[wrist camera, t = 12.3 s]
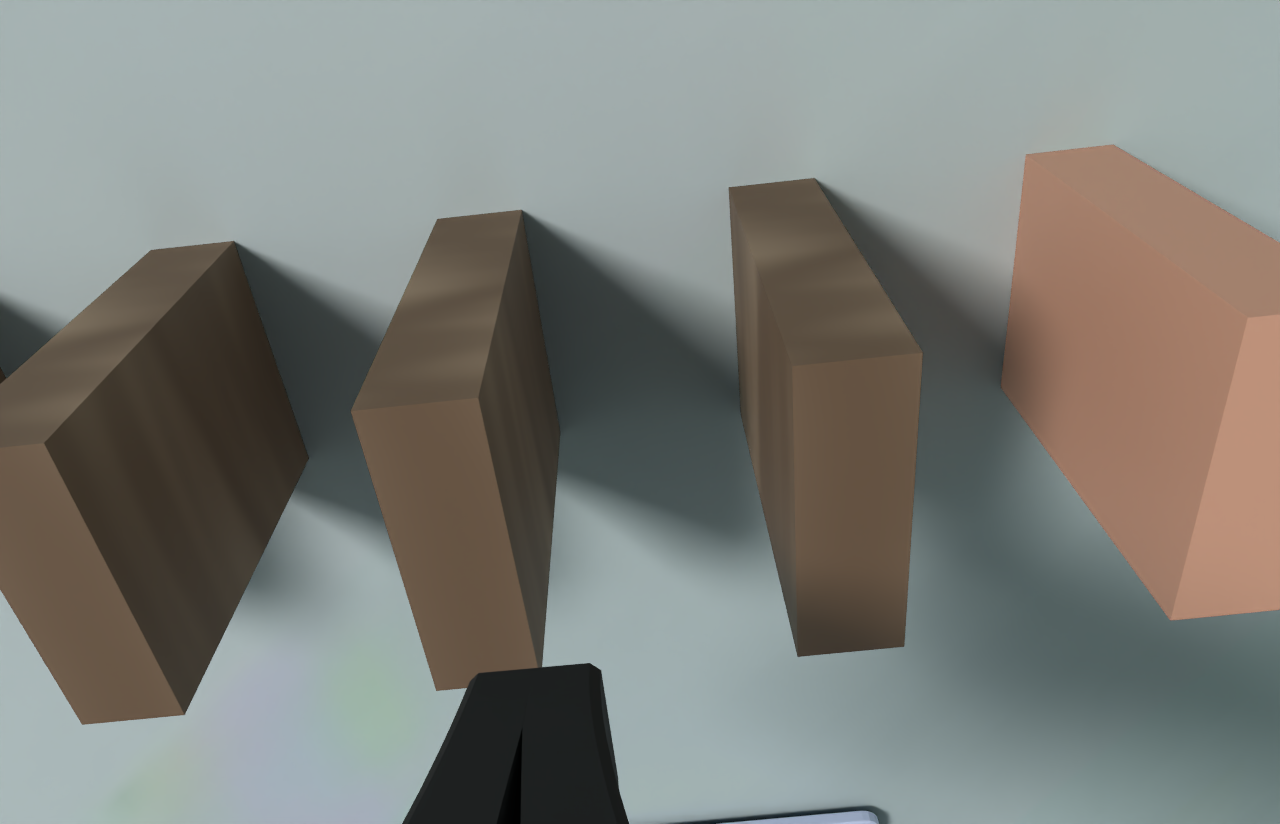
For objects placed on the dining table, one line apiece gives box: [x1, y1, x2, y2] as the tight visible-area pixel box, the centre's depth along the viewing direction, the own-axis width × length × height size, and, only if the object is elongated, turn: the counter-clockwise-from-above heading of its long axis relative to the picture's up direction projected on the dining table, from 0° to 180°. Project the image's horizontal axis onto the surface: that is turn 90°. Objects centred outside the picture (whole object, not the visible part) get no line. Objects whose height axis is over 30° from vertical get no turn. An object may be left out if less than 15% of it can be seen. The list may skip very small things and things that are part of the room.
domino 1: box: [0, 241, 309, 725], centre depth 16 cm, size 2×5×7 cm, turn 6°
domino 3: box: [729, 178, 923, 657], centre depth 16 cm, size 2×5×7 cm, turn 6°
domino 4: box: [1001, 145, 1280, 621], centre depth 16 cm, size 2×5×7 cm, turn 6°
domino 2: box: [351, 210, 560, 691], centre depth 16 cm, size 2×5×7 cm, turn 6°
